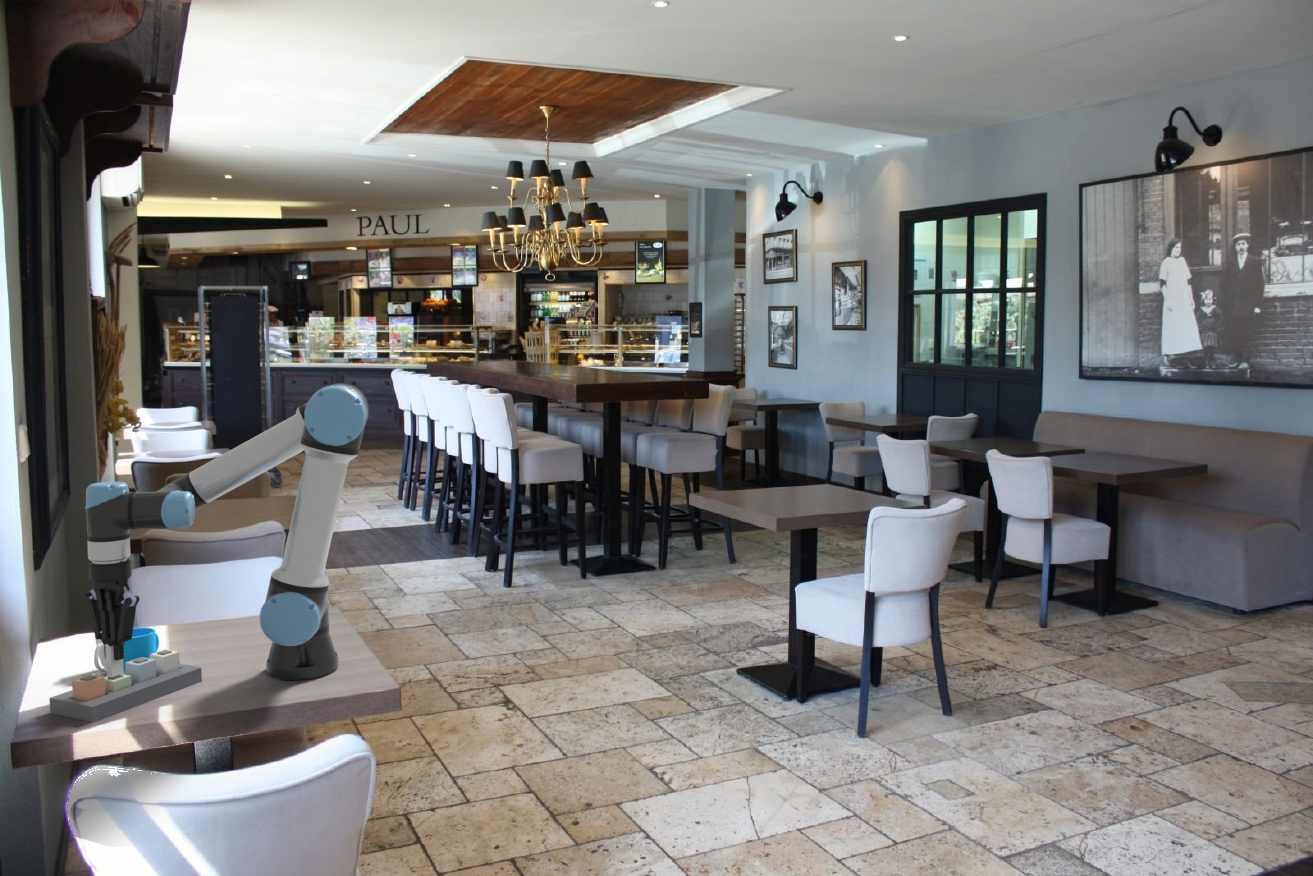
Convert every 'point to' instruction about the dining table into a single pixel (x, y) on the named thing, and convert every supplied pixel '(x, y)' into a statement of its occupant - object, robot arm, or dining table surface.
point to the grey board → (125, 695)
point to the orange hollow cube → (88, 687)
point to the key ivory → (166, 661)
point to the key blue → (141, 669)
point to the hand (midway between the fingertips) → (115, 674)
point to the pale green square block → (117, 682)
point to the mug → (140, 645)
